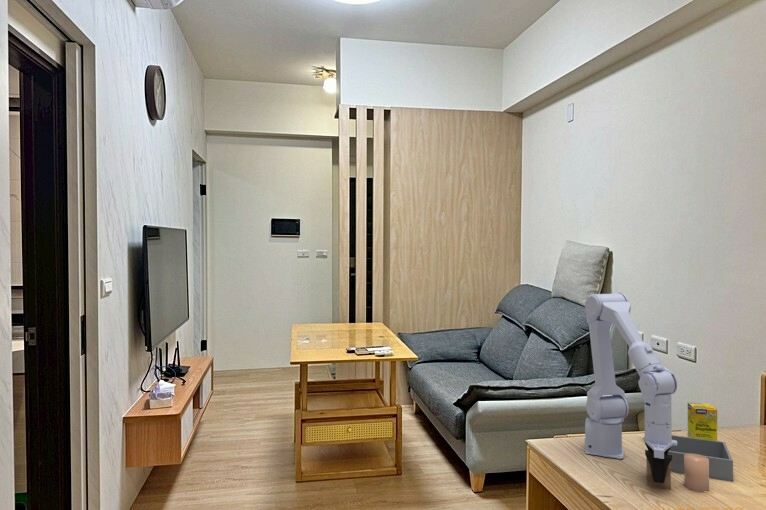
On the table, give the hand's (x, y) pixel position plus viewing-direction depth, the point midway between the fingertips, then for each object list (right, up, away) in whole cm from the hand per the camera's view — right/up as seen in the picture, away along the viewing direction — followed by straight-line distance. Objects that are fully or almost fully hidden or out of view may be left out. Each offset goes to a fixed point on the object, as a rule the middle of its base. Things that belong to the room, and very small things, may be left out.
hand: (658, 477), depth 124 cm
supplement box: (+26, -1, +24) cm, 35 cm away
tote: (+13, -1, +10) cm, 17 cm away
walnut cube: (0, -1, 0) cm, 1 cm away
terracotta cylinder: (+8, -1, -2) cm, 8 cm away
